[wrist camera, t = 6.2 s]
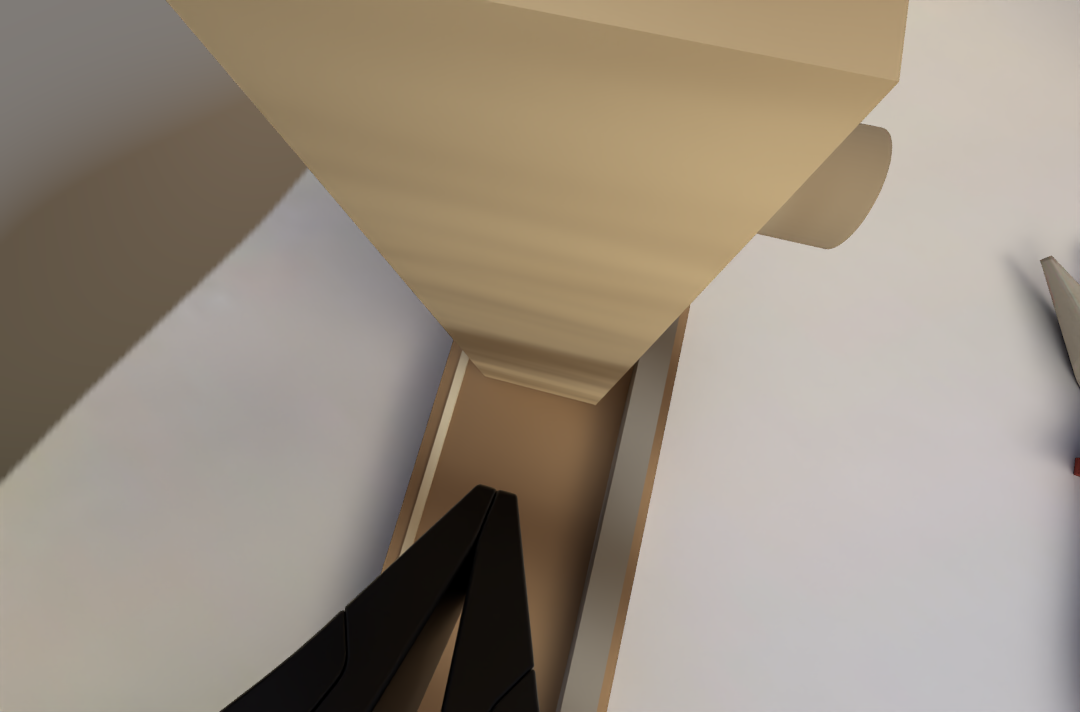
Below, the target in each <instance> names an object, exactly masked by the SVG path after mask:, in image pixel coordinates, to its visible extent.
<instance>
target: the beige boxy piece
mask: <svg viewBox="0 0 1080 712" xmlns="http://www.w3.org/2000/svg"><path fill="white" fill-rule="evenodd" d="M166 1H167V2H168V3H169V5H170V6H171V7H172V8H173V9H174V10H175V12H176V13H177V14H178V15H179V16H180V18H181V19H182V20H183V21H184V22H185V23H186V25H187V26H188V27H189V28H190V29H191V30H192V32H193V33H194V34H195V35H196V36H197V38H198V39H199V40H200V41H201V42H202V43H203V45H204V46H205V47H206V48H207V49H208V50H209V52H210V53H211V54H212V55H213V56H214V58H215V59H216V60H217V61H218V62H219V63H220V65H221V66H222V67H223V68H224V69H225V70H226V72H227V73H228V74H229V75H230V76H231V78H232V79H233V80H234V81H235V82H236V84H237V85H238V86H239V87H240V88H241V89H242V91H243V92H244V93H245V94H246V95H247V97H249V99H250V100H251V101H252V102H253V104H254V105H255V106H256V107H257V108H258V109H259V111H260V112H261V113H262V114H263V115H264V116H265V118H266V119H267V120H268V121H269V123H270V124H271V125H272V126H273V127H274V128H275V130H276V131H277V132H278V133H279V134H280V135H281V137H282V138H283V139H284V140H285V141H286V142H287V144H288V145H289V146H290V147H291V148H292V150H293V151H294V152H295V153H296V154H297V156H298V157H299V158H300V159H301V160H302V161H303V162H304V164H305V165H306V166H307V167H308V169H309V170H310V171H311V172H312V173H313V174H314V176H315V177H316V178H317V179H318V180H319V181H320V183H321V184H322V185H323V186H324V187H325V189H326V190H327V191H328V192H329V193H330V194H331V196H332V197H333V198H334V199H335V200H336V202H337V203H338V204H339V205H340V206H341V207H342V209H343V210H344V211H345V212H346V213H347V215H348V216H349V217H350V218H351V219H352V220H353V222H354V223H355V224H356V225H357V226H358V227H359V229H360V230H361V231H362V232H363V233H364V235H365V236H366V237H367V238H368V239H369V240H370V242H371V243H372V244H373V245H374V246H375V248H376V249H377V250H378V251H379V252H380V253H381V255H382V256H383V257H384V258H385V259H386V261H387V262H388V263H389V264H390V265H391V266H392V268H393V269H394V270H395V271H396V272H397V273H398V275H399V276H400V277H401V278H402V279H403V281H404V282H405V283H406V284H407V285H408V286H409V288H410V289H411V290H412V291H413V292H414V294H415V295H416V296H417V297H418V298H419V299H420V301H421V302H422V303H423V304H424V305H425V307H426V308H427V309H428V310H429V311H430V312H431V314H432V315H433V316H434V317H435V318H436V319H437V321H438V322H439V323H440V324H441V325H442V327H443V328H444V329H445V330H446V331H447V332H448V334H449V335H450V336H451V337H452V338H453V340H454V341H455V342H456V343H457V344H458V345H459V347H460V348H461V349H462V350H463V351H464V353H465V354H466V355H467V356H468V357H469V358H470V360H471V361H472V362H473V363H474V364H475V365H476V367H477V368H478V369H479V370H480V371H481V373H482V374H483V375H484V376H486V377H490V378H493V379H497V380H501V381H505V382H509V383H513V384H517V385H520V386H524V387H528V388H532V389H536V390H540V391H544V392H547V393H551V394H555V395H559V396H563V397H567V398H571V399H574V400H578V401H582V402H586V403H590V404H594V405H596V404H597V403H598V402H599V401H600V400H601V399H602V398H603V397H604V396H605V395H606V393H607V392H608V391H609V390H610V389H611V388H612V387H613V386H614V385H615V384H616V383H617V382H618V381H619V380H620V379H621V377H622V376H623V375H624V374H625V373H626V372H627V371H628V370H629V369H630V368H631V367H632V366H633V365H634V364H635V363H636V362H637V360H638V359H639V358H640V357H641V356H642V355H643V354H644V353H645V352H646V351H647V350H648V349H649V348H650V347H651V346H652V344H653V343H654V342H655V341H656V340H657V339H658V338H659V337H660V336H661V335H662V334H663V333H664V332H665V331H666V330H667V328H668V327H669V326H670V325H671V324H672V323H673V322H674V321H675V320H676V319H677V318H678V317H679V316H680V315H681V314H682V312H683V311H684V310H685V309H686V308H687V307H688V306H689V305H690V304H691V303H692V302H693V301H694V300H695V299H696V298H697V296H698V295H699V294H700V293H701V292H702V291H703V290H704V289H705V288H706V287H707V286H708V285H709V284H710V283H711V282H712V280H713V279H714V278H715V277H716V276H717V275H718V274H719V273H720V272H721V271H722V270H723V269H724V268H725V267H726V266H727V264H728V263H729V262H730V261H731V260H732V259H733V258H734V257H735V256H736V255H737V254H738V253H739V252H740V251H741V250H742V248H743V247H744V246H745V245H746V244H747V243H748V242H749V241H750V240H751V239H752V238H753V237H754V236H755V235H756V234H761V235H765V236H770V237H774V238H779V239H783V240H787V241H792V242H796V243H801V244H805V245H810V246H814V247H819V248H823V249H832V248H834V247H837V246H838V245H840V244H842V243H843V242H844V241H845V240H847V239H848V238H849V237H850V236H851V235H852V234H853V233H854V232H855V231H856V229H857V228H858V227H859V226H860V224H861V223H862V222H863V220H864V219H865V218H866V216H867V215H868V213H869V211H870V210H871V208H872V206H873V205H874V203H875V201H876V199H877V197H878V195H879V193H880V191H881V189H882V186H883V184H884V181H885V178H886V175H887V172H888V169H889V165H890V161H891V155H892V140H891V136H890V134H889V132H888V131H887V130H886V129H884V128H881V127H876V126H871V125H866V124H861V122H862V120H863V119H864V118H865V117H866V116H867V115H868V114H869V113H870V112H871V111H872V110H873V109H874V108H875V107H876V106H877V104H878V103H879V102H880V101H881V100H882V99H883V98H884V97H885V96H886V95H887V94H888V93H889V92H890V91H891V90H892V88H893V87H894V86H895V85H896V84H897V83H898V82H899V77H900V69H901V61H902V53H903V44H904V36H905V28H906V20H907V11H908V3H909V0H166Z"/></svg>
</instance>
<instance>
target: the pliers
mask: <svg viewBox="0 0 1080 712" xmlns="http://www.w3.org/2000/svg"><path fill="white" fill-rule="evenodd" d="M1040 261H1041V265H1042V268H1043V271H1044V275H1045V278H1046V281H1047V285H1048V288H1049V291H1050V295H1051V298H1052V301H1053V305H1054V308H1055V311H1056V315H1057V318H1058V321H1059V325H1060V328H1061V331H1062V335H1063V338H1064V341H1065V344H1066V348H1067V351H1068V354H1069V358H1070V361H1071V364H1072V368H1073V371H1074V374H1075V377H1076V380H1077V382H1078V384H1079V387H1080V285H1079V284H1078V283H1077V282H1076V281H1075V280H1074V278H1073V277H1072V276H1071V275H1070V274H1069V273H1068V272H1067V271H1066V270H1065V269H1064V268H1063V267H1062V266H1061V265H1060V264H1059V263H1058V262H1057V261H1056V259H1055V258H1054V257H1053V256H1050V257H1047V258H1044V259H1042V260H1040ZM1074 475H1076V476H1079V477H1080V458H1075V467H1074Z"/></svg>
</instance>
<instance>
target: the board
mask: <svg viewBox="0 0 1080 712" xmlns="http://www.w3.org/2000/svg"><path fill="white" fill-rule="evenodd" d="M689 308H690V305H689V306H688V307H687V308H686V309H685V310H684V311H683V312H682V314H681V315H680V316H679V317H678V318H677V319H676V320H675V321H674V322H673V323H672V324H671V325H670V326H669V327H668V328H667V330H666V331H665V332H664V333H663V334H662V335H661V336H660V337H659V338H658V339H657V340H656V341H655V342H654V343H653V344H652V346H651V347H650V348H649V349H648V350H647V351H646V352H645V353H644V354H643V355H642V356H641V357H640V358H639V359H638V360H637V362H636V363H635V364H634V365H633V366H632V367H631V368H630V369H629V370H628V371H627V372H626V373H625V374H624V375H623V376H622V377H621V379H620V380H619V381H618V382H617V383H616V384H615V385H614V386H613V387H612V388H611V389H610V390H609V391H608V392H607V393H606V395H605V396H604V397H603V398H602V399H601V400H600V401H599V402H598V403H597V404H596V405H594V404H590V403H586V402H582V401H578V400H574V399H571V398H567V397H563V396H559V395H555V394H551V393H547V392H544V391H540V390H536V389H532V388H528V387H524V386H520V385H517V384H513V383H509V382H505V381H501V380H497V379H493V378H490V377H486V376H484V375H483V374H482V373H481V371H480V370H479V369H478V368H477V367H476V365H475V364H474V363H473V362H472V361H471V360H470V358H469V357H468V356H467V355H466V354H465V353H464V351H463V350H462V349H461V348H460V347H459V345H458V344H457V343H456V342H455V341H454V340H453V343H452V346H451V349H450V353H449V356H448V359H447V362H446V366H445V369H444V372H443V375H442V378H441V382H440V385H439V388H438V391H437V395H436V398H435V401H434V404H433V407H432V411H431V414H430V417H429V420H428V423H427V427H426V430H425V433H424V436H423V440H422V443H421V446H420V449H419V452H418V456H417V459H416V462H415V465H414V469H413V472H412V475H411V478H410V481H409V485H408V488H407V491H406V494H405V497H404V501H403V504H402V507H401V510H400V514H399V517H398V520H397V523H396V526H395V530H394V533H393V536H392V539H391V543H390V546H389V549H388V552H387V555H386V559H385V562H384V565H383V568H382V571H381V573H382V572H384V571H385V570H386V569H387V568H388V567H389V566H390V565H391V564H392V563H393V562H394V561H395V560H396V559H397V558H399V557H400V556H401V555H402V554H403V553H404V552H405V551H406V550H407V549H408V548H409V547H410V546H411V545H413V544H414V543H415V542H416V541H417V540H418V539H419V538H420V537H421V536H422V535H423V534H424V533H425V532H426V531H428V530H429V529H430V528H431V527H432V526H433V525H434V524H435V523H436V522H437V521H438V520H439V519H440V518H442V517H443V516H444V515H445V514H446V513H447V512H448V511H449V510H450V509H451V508H452V507H453V506H454V505H456V504H457V503H458V502H459V501H460V500H461V499H462V498H463V497H464V496H465V495H466V494H467V493H468V492H469V491H471V490H472V489H473V488H474V487H475V486H476V485H478V484H482V485H486V486H490V487H493V488H495V489H496V490H497V491H498V490H504V491H507V492H511V493H514V494H516V495H517V498H518V508H519V518H520V527H521V537H522V547H523V557H524V567H525V576H526V586H527V596H528V606H529V616H530V626H531V635H532V645H533V655H534V665H535V666H534V669H533V670H535V673H536V682H537V692H538V700H539V708H540V712H607V707H608V702H609V697H610V693H611V688H612V683H613V678H614V673H615V668H616V663H617V659H618V654H619V649H620V644H621V639H622V634H623V629H624V625H625V620H626V615H627V610H628V605H629V600H630V595H631V590H632V586H633V581H634V576H635V571H636V566H637V561H638V556H639V552H640V547H641V542H642V537H643V532H644V527H645V522H646V518H647V513H648V508H649V503H650V498H651V493H652V488H653V484H654V479H655V474H656V469H657V464H658V459H659V454H660V449H661V445H662V440H663V435H664V430H665V425H666V420H667V415H668V411H669V406H670V401H671V396H672V391H673V386H674V381H675V377H676V372H677V367H678V362H679V357H680V352H681V347H682V342H683V338H684V333H685V328H686V323H687V318H688V313H689ZM461 613H462V611H461ZM461 613H460V616H459V618H458V620H457V622H456V625H455V627H454V629H453V631H452V634H451V636H450V638H449V640H448V643H447V645H446V647H445V650H444V652H443V654H442V656H441V659H440V661H439V663H438V665H437V668H436V670H435V672H434V674H433V677H432V679H431V681H430V683H429V686H428V688H427V690H426V692H425V695H424V697H423V699H422V701H421V704H420V706H419V708H418V710H417V712H441V707H442V703H443V698H444V693H445V689H446V684H447V679H448V674H449V670H450V665H451V660H452V656H453V651H454V646H455V641H456V637H457V632H458V627H459V623H460V618H461Z"/></svg>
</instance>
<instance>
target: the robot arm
mask: <svg viewBox="0 0 1080 712" xmlns="http://www.w3.org/2000/svg"><path fill="white" fill-rule="evenodd" d="M461 611H462V613H461ZM460 613H461V618H460V623H459V627H458V632H457V637H456V641H455V646H454V651H453V656H452V660H451V665H450V670H449V674H448V679H447V684H446V689H445V693H444V698H443V703H442V707H441V712H540V708H539V700H538V692H537V682H536V673H535V670H533V669H534V666H535V665H534V655H533V645H532V635H531V626H530V616H529V606H528V596H527V586H526V576H525V567H524V557H523V547H522V537H521V527H520V518H519V508H518V498H517V495H516V494H514V493H511V492H507V491H504V490H498V491H497V490H496V489H495V488H493V487H490V486H486V485H482V484H478V485H476V486H475V487H474V488H473V489H472V490H471V491H469V492H468V493H467V494H466V495H465V496H464V497H463V498H462V499H461V500H460V501H459V502H458V503H457V504H456V505H454V506H453V507H452V508H451V509H450V510H449V511H448V512H447V513H446V514H445V515H444V516H443V517H442V518H440V519H439V520H438V521H437V522H436V523H435V524H434V525H433V526H432V527H431V528H430V529H429V530H428V531H426V532H425V533H424V534H423V535H422V536H421V537H420V538H419V539H418V540H417V541H416V542H415V543H414V544H413V545H411V546H410V547H409V548H408V549H407V550H406V551H405V552H404V553H403V554H402V555H401V556H400V557H399V558H397V559H396V560H395V561H394V562H393V563H392V564H391V565H390V566H389V567H388V568H387V569H386V570H385V571H384V572H382V573H381V574H380V575H379V576H378V577H377V578H376V579H375V580H374V581H373V582H372V583H371V584H370V585H368V586H367V587H366V588H365V589H364V590H363V591H362V592H361V593H360V594H359V595H358V596H357V597H356V598H355V599H353V600H352V601H351V602H350V603H349V604H348V605H347V606H346V607H345V611H343V610H342V611H340V612H339V613H338V614H337V615H336V616H335V617H334V618H333V619H332V620H331V621H330V622H328V623H327V624H326V625H325V626H324V627H323V628H322V629H321V630H320V631H319V632H317V633H316V634H315V635H314V636H313V637H312V638H311V639H310V640H308V641H307V642H306V643H305V644H304V645H303V646H302V647H300V648H299V649H298V650H297V651H296V652H295V653H294V654H292V655H291V656H290V657H289V658H287V659H286V660H285V661H284V662H282V663H281V664H280V665H279V666H277V667H276V668H275V669H274V670H272V671H271V672H270V673H269V674H267V675H266V676H265V677H264V678H262V679H261V680H260V681H259V682H257V683H256V684H255V685H253V686H252V687H251V688H250V689H248V690H247V691H246V692H244V693H243V694H242V695H240V696H239V697H238V698H237V699H235V700H234V701H233V702H231V703H230V704H229V705H227V706H226V707H225V708H224V709H222V710H221V711H220V712H417V710H418V708H419V706H420V704H421V701H422V699H423V697H424V695H425V692H426V690H427V688H428V686H429V683H430V681H431V679H432V677H433V674H434V672H435V670H436V668H437V665H438V663H439V661H440V659H441V656H442V654H443V652H444V650H445V647H446V645H447V643H448V640H449V638H450V636H451V634H452V631H453V629H454V627H455V625H456V622H457V620H458V618H459V616H460Z"/></svg>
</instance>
